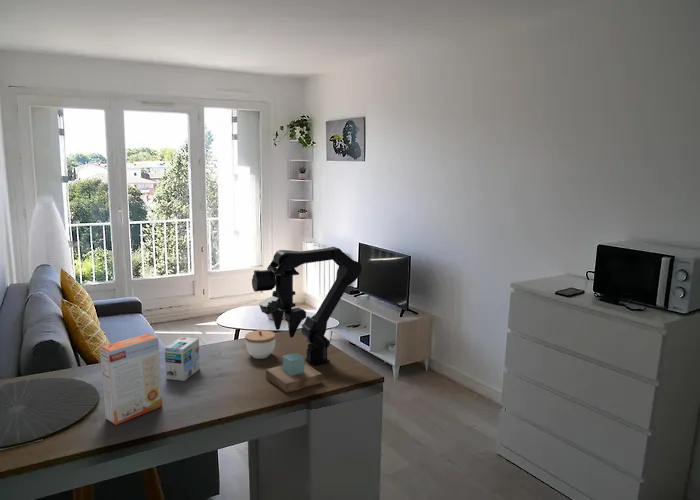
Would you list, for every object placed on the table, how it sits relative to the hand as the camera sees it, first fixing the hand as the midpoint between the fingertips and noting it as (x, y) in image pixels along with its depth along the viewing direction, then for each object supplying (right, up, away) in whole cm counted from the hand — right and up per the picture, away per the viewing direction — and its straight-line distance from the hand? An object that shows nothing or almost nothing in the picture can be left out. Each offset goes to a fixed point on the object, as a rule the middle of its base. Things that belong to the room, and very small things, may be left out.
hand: (284, 333), depth 173 cm
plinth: (+4, -14, -8) cm, 17 cm away
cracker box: (-38, -17, -31) cm, 52 cm away
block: (+4, -11, -9) cm, 14 cm away
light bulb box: (-33, -13, -5) cm, 35 cm away
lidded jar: (-10, -10, +12) cm, 19 cm away
